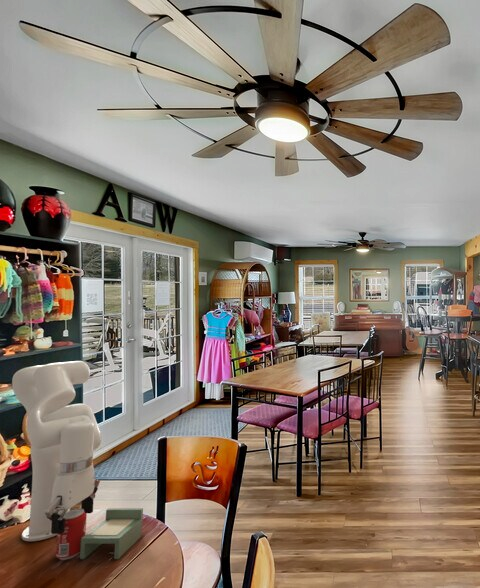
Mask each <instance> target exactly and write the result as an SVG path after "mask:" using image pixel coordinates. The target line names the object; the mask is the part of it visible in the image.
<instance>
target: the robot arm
mask: <svg viewBox="0 0 480 588" xmlns="http://www.w3.org/2000/svg"><path fill="white" fill-rule="evenodd" d="M90 378H91V368H90V366H89V365H88V364H87V362H85V361H83V360H74V361H63V362H51V363H47V364H41V365H40V364H39V365H33V366H27V367H23V368H21V369H19V370H17V371H16V372H15V373H14V374H13V376H12V379H11V380H12V382H11V384H12V385H11V386H12V390H13V393H14V396H15V397H16V399H17V400H18V401H19V403H20V404H21V405H22V406H23V407H24V409H25V411H26V415H27V419H26V432H27V436H28V440H29V443H30V450H29V451H30V459H31V460H30V461H31V467H32V478H31V479H32V480H31V495H30V497H31V498H30V511H29V512H30V513H29V524H28V525H29V526H27V527H26V528H25V529H24V530H23V531H22V532H21V539H22V541H25V542H38V541H39V542H40V541H44V540H48V539H51V538H53V537H55V536H56V537H57V534H62V533H63V532H64V531H65V518H63V517H64V515H65V513H66V512H68V511H70V510H71V508H73V507H74V506H76V505H78V504H79V503H81V504H80V509H84V512H85V513H86V514H92V513H93V512H94V499H96V493H97V491H98V489H99V485H100V482H101V479H95V467H94V463H93V461H94V451H96V450H97V449H99V447H100V446H101V445H102V433H101V430H100V428H99V424H98V422H97V418H96V416H95V414H94V410H93V409H92V407H91V406H90V405H89V404H87V403H73V404H71V403H72V402H73V401H74V400H75V398H76V390H75V387H74V385H81V384H85V383H87V382H88V381H89V380H90Z"/></svg>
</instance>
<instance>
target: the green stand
mask: <svg viewBox="0 0 480 588" xmlns="http://www.w3.org/2000/svg"><path fill="white" fill-rule="evenodd" d="M143 516H144V508H143V507H140V508H139V507H137V508H136V507H135V508H134V507H132V508H131V507H129V508H128V507H108V508H107V509H106V510H105V519H104V520H103V521H101V522H100V523H99V524H98V525H96V526H94V528H92V529H91V530H89V532H87V533H85V536H84V537H82V538H81V551H80V553H79V555H80V556H79V559H80V560H85V559H86V558H87V557H88V556H89V555H91V554H93V552H94V551H95V550H96V549H98V548H99V547H100V546H101V545H103V544H105V545H106V544H107V545H108V544H112V545H113V544H114V553H113V554H114V556H113V559H114V560H119V559H120V558H121V557H122V556H123V555H124V554H125V553H126V552H127V551H128V550H130V548H131V547H132V546H133V545H135V543H137V542H138V541H139V540H140V539H141V538H142V536H143Z"/></svg>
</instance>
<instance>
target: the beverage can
mask: <svg viewBox="0 0 480 588" xmlns="http://www.w3.org/2000/svg"><path fill="white" fill-rule="evenodd" d="M87 515H88V513H85V512H84V509H81V508H74V509H70V511H68V512H66V513H65V515H64V517H63V518H65V531H64V532H63V533H62V534H57V535H56V547H55V558H57V559H59V560H61V561H66V560H70V559H73V558H75V557H76V556H78V555H80V551H81V538H82V537H84V536H85V535H86V531H87V517H88V516H87Z"/></svg>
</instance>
